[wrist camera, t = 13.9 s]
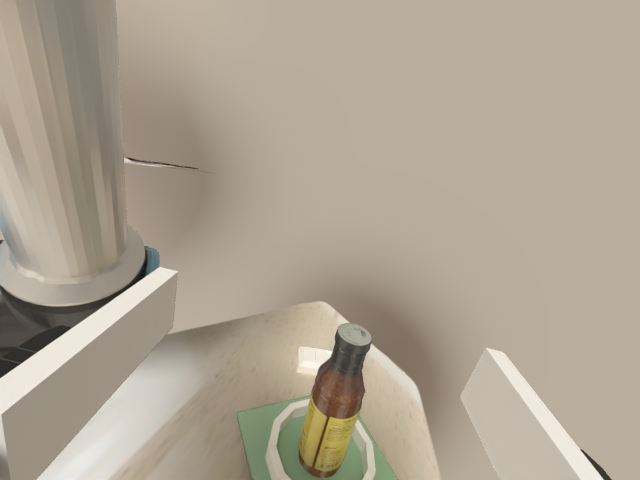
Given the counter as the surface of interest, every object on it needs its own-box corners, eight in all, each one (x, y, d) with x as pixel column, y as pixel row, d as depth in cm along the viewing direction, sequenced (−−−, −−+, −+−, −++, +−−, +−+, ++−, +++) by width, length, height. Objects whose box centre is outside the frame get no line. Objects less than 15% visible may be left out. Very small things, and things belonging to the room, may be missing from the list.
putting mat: (237, 415, 42) (239, 402, 41) (341, 390, 51) (344, 379, 50) (276, 583, 28) (281, 567, 27) (412, 507, 37) (419, 494, 36)
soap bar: (297, 354, 58) (300, 343, 57) (341, 361, 59) (344, 351, 58) (296, 373, 53) (299, 362, 52) (344, 381, 54) (348, 370, 53)
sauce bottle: (347, 449, 41) (392, 333, 35) (331, 493, 35) (381, 364, 29) (306, 424, 43) (342, 310, 37) (285, 461, 37) (322, 335, 31)
